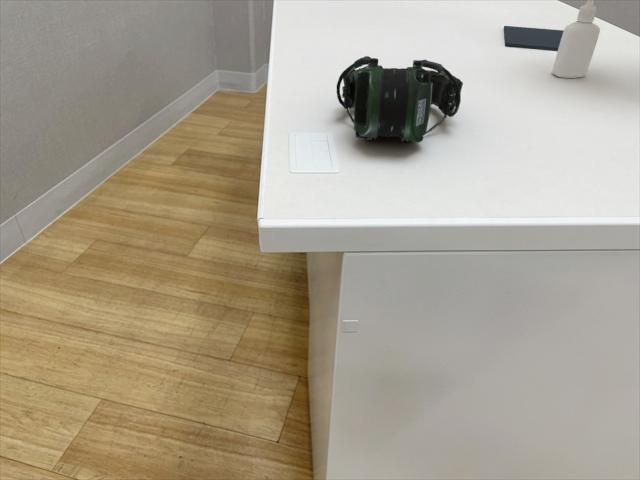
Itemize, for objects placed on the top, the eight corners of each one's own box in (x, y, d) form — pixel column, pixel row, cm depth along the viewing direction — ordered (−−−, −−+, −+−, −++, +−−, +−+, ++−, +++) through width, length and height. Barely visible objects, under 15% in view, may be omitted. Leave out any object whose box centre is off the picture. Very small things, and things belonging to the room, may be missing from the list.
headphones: (491, 114, 55) (461, 83, 73) (412, 15, 51) (401, 8, 69) (394, 191, 60) (389, 145, 77) (316, 105, 56) (329, 77, 74)
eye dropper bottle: (549, 69, 88) (571, -6, 81) (584, 73, 87) (609, -4, 80) (551, 77, 85) (574, -2, 78) (588, 80, 84) (613, 1, 77)
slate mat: (570, 33, 110) (571, 31, 110) (580, 52, 98) (581, 49, 97) (503, 28, 113) (504, 25, 113) (505, 46, 101) (505, 43, 100)
